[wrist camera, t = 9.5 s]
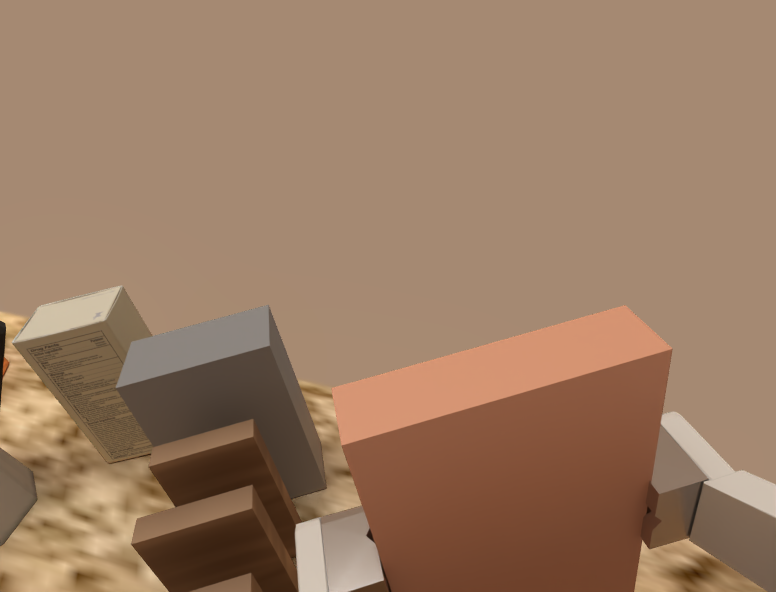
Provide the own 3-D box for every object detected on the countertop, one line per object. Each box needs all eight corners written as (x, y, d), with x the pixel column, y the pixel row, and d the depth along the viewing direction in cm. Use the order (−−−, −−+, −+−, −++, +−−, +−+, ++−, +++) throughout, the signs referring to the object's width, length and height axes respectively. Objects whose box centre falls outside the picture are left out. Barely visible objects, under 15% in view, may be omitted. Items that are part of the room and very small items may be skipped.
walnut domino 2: (314, 623, 27) (252, 508, 22) (219, 654, 27) (131, 544, 21) (312, 600, 28) (252, 484, 23) (220, 629, 28) (136, 518, 22)
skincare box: (195, 406, 43) (128, 282, 36) (185, 448, 39) (108, 319, 33) (120, 424, 43) (38, 303, 36) (102, 467, 39) (7, 342, 33)
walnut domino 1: (309, 552, 31) (253, 436, 25) (223, 578, 30) (148, 466, 25) (307, 534, 32) (253, 418, 26) (224, 559, 31) (152, 447, 26)
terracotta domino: (624, 651, 13) (673, 348, 8) (433, 716, 13) (341, 445, 7) (598, 603, 14) (625, 305, 9) (421, 661, 14) (331, 387, 8)
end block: (203, 524, 33) (115, 388, 27) (208, 474, 37) (131, 341, 30) (326, 488, 34) (269, 345, 27) (320, 441, 37) (268, 304, 31)
